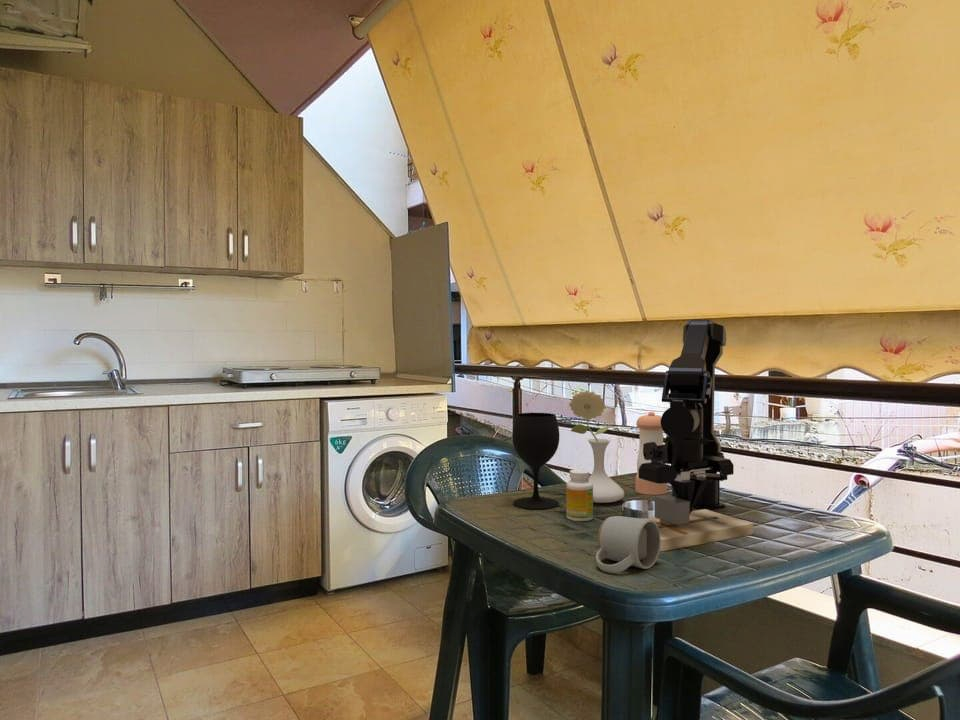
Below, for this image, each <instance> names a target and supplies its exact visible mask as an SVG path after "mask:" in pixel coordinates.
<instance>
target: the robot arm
mask: <svg viewBox="0 0 960 720" xmlns="http://www.w3.org/2000/svg"><path fill="white" fill-rule="evenodd" d="M713 321H714V320H712V319H711V320H710V319H708V318H706V319H703V318H702V319H701V318H700V319H690V320H687V321H686V324H685V325H684V326H683V327H682V329H683V330H682V344H683V345H682V349H681V352H680V355H679V356H678V357H677V358H675V359H672V360H671V363H670V365H669V367H668V370H666V371H665V374H664V379H663V387H662V393H661V402H662V403H669V408H667V409H665V410H664V412H663V414H662V416H661V427H662V430H663V434H665V435H666V437H665V439H664V441H665V444H664V443H663V445H658V446H657V444H656V443H655V442H649V443H645V444H643V455H644V459H645V460H651V463H642V464H641V466H640V467H639V478H640V479H643V480H647V481H650V482H654V483H659V484H663V483H667V484H669V485H670V486H671V487H672V488H673V490H674V494H675V495H676V496H675V497H677V498H680V499H683V500H687V501H690V514H691V512H692V511H694V510H693V509H694V508H696V509H698V510H703V509H707V510H713V509H718V508H725V506H726V504H724V503H722V502H720V497H721V496H720V494H721V493H720V482H724V481H727V480H728V476H732V475H734V466H735V465H734V463H733V462H732V461H731V459H730V458H726V457H725V454H724V452H722V445H721V442H720V440H719V439H718V438H717V436H716V434H715V433H714V428H715V424H714V423H715V374H716V372H715V371H716V365H717V363H718V361H719V360H720V359H721V358H722V356H723V354H724V351H723V350H724V347H726V345H727V331H726V328H725V326H724V325H722V324H720V323H715V322H713Z"/></svg>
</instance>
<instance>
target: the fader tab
mask: <svg viewBox="0 0 960 720" xmlns="http://www.w3.org/2000/svg"><path fill="white" fill-rule="evenodd" d="M653 496H654V500H653V501H654V506H653V507H654V508H653V509H654V515H653V517H655V518H658V519H661V520H660V523H663V524H665V525H668V526H670V525H681V524H687V523H690V501H687V500H683V499H680V498H677V496H674V495H669V494H660V495H653Z"/></svg>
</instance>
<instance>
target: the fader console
mask: <svg viewBox="0 0 960 720" xmlns="http://www.w3.org/2000/svg"><path fill="white" fill-rule="evenodd" d="M643 519H650V520H653V521H654V522H655V523H656V524H657V526H658V528H659V532H660V539H661V540H660V551H659V552H665V551H669V550H670V551H671V550H675V549H681V548H687V547H693V546H697V545H704V544H709V543H713V542H720V541H725V540H731V539H735V538H740V537H746V536H751V535H754V523H753V522H750V521H746V520H742V519H739V518H735V517H733V516H729V515H726V514H724V513H723V514H722V513H719V512H717V511H713V510H711V509H703V510H702V509H697V510H692V512H691V514H690V523H687V524H681V525H670V526H668V525H665V524H663V523H660V520H661V519H658V518H655V517H654V516H652V517H645V518H643Z"/></svg>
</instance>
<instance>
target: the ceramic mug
mask: <svg viewBox="0 0 960 720" xmlns="http://www.w3.org/2000/svg"><path fill="white" fill-rule="evenodd" d="M660 540H661V539H660V532H659V528H658V526H657V524H656V523H655V522H654V521H653V520H650V519H644V518H640V517H639V518H638V517H637V518H636V517H629V516H622V515H621V516H620V515H615V516H609V517H606V518H605V519H604V520H603V521H602V523H601V524H600V527H599V529H598V533H597V545H598V548H599V550H597V552H596V555H595V560H596V564H597V567H598V568H599V569H600V570H601V571H603V572H605V573H608V574H617V573H621V572H623V571H626V570H627V569H628V568H629V567H636V568H639V569H643V570H648V569H650V568H651V567H653V566H654V565H655V564H656V562H657V560H658V558H659V555H660V552H661V551H660ZM604 557H605V558H606V559H609V560H611V561H614V562H616V563H613V564H606V563H603V562H602V559H603V558H604Z"/></svg>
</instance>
